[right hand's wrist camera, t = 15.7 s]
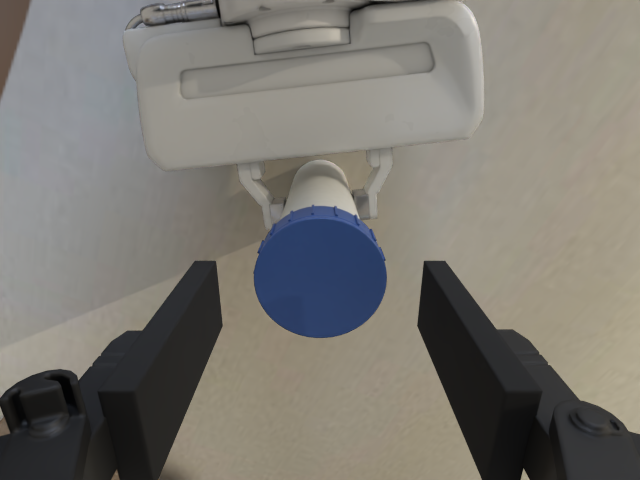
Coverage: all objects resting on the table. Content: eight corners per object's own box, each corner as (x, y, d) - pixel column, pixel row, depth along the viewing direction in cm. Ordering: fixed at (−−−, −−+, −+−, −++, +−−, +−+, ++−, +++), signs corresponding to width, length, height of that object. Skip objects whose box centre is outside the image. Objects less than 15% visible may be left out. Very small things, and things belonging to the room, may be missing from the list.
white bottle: (282, 194, 33) (244, 290, 16) (312, 148, 31) (303, 202, 15) (327, 223, 34) (334, 342, 17) (358, 179, 32) (397, 262, 16)
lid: (236, 279, 18) (227, 299, 16) (302, 179, 16) (300, 188, 14) (335, 336, 19) (337, 360, 17) (406, 246, 17) (416, 263, 16)
